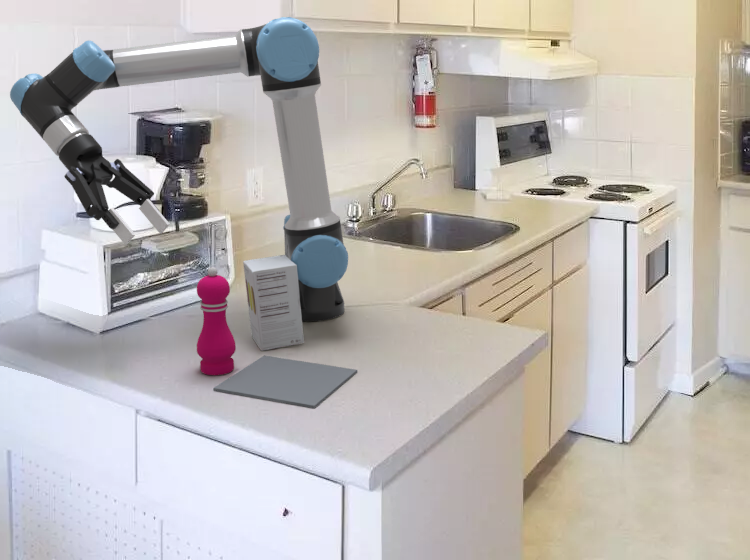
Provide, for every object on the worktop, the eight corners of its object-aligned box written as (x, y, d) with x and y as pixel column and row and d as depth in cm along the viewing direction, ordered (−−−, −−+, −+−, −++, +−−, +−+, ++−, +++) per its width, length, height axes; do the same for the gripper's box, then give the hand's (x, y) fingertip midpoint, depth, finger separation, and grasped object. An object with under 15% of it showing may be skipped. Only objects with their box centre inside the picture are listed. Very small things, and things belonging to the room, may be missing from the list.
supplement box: (250, 337, 178) (241, 260, 173) (293, 329, 181) (285, 253, 176) (261, 351, 170) (251, 271, 165) (305, 343, 172) (297, 263, 168)
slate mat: (213, 390, 150) (213, 387, 150) (264, 357, 166) (264, 355, 166) (314, 408, 143) (314, 405, 143) (357, 372, 159) (357, 369, 159)
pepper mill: (242, 364, 163) (238, 264, 157) (226, 378, 156) (221, 273, 151) (208, 361, 164) (203, 261, 159) (191, 374, 158) (184, 270, 152)
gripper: (103, 152, 172) (172, 235, 170) (20, 165, 152) (97, 259, 150) (122, 127, 169) (193, 211, 167) (40, 137, 149) (119, 232, 147)
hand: (148, 234), depth 159 cm, fingers open, 10 cm apart
